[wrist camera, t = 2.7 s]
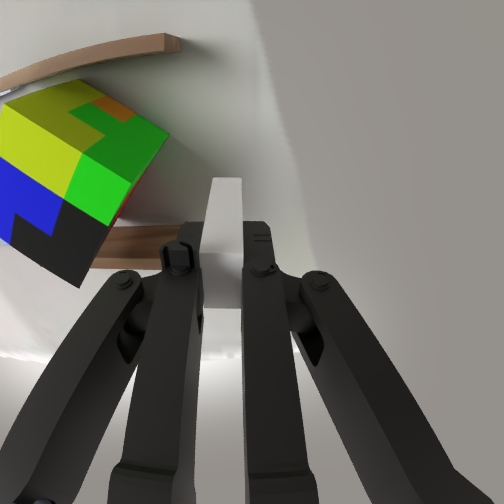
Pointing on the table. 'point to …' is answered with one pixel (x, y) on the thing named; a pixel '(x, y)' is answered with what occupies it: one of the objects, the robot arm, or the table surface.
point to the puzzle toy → (69, 173)
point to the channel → (119, 238)
